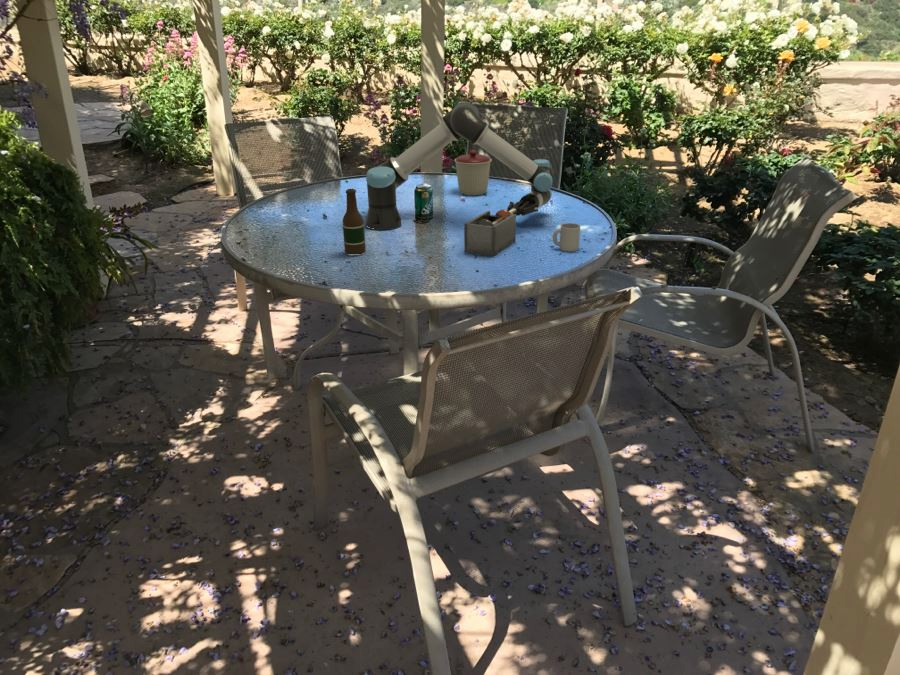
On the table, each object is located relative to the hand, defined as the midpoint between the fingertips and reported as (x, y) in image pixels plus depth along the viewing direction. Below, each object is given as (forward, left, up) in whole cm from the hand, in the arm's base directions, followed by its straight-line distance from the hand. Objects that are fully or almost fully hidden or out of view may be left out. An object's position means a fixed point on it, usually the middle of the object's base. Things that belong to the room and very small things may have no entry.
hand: (507, 216), depth 275 cm
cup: (+12, -24, -9) cm, 28 cm away
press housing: (-12, -9, -8) cm, 17 cm away
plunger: (-9, -7, -4) cm, 12 cm away
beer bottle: (-60, +8, -9) cm, 61 cm away
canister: (+20, +70, -9) cm, 74 cm away
